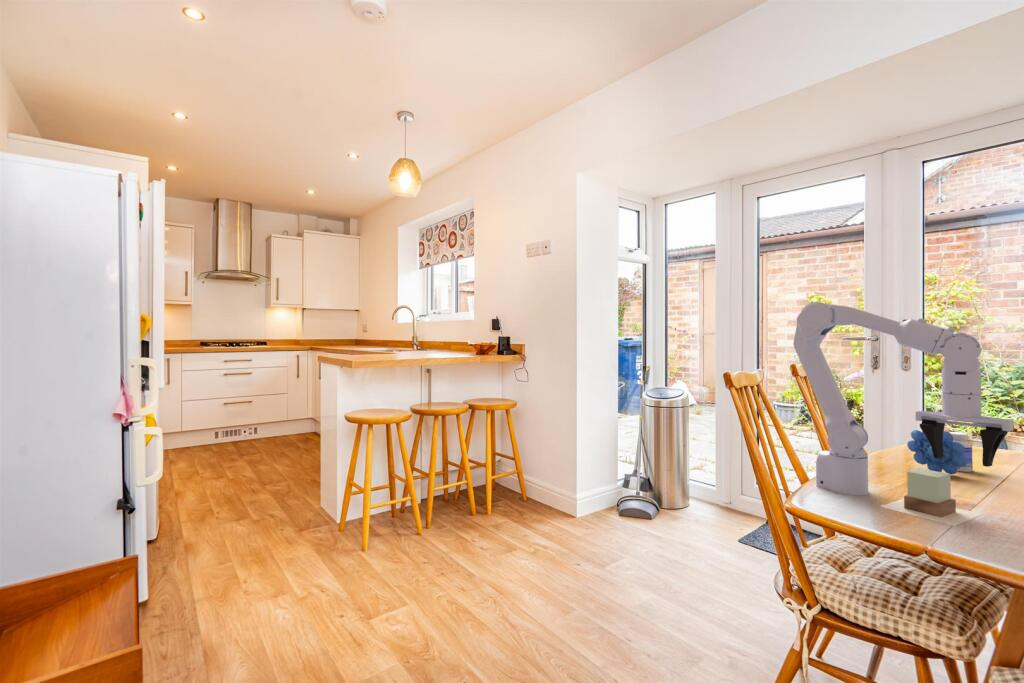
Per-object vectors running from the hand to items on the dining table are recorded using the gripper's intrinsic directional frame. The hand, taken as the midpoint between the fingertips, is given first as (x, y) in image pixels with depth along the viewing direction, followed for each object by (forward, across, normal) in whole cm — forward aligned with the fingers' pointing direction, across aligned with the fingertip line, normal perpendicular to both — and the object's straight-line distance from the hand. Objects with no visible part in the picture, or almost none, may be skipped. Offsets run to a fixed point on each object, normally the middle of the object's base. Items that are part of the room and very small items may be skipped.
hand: (962, 461), depth 97 cm
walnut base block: (+10, -3, -6) cm, 12 cm away
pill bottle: (+11, -15, +40) cm, 44 cm away
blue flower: (+11, -16, +30) cm, 36 cm away
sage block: (+7, -3, -6) cm, 10 cm away
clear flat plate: (+10, -3, -6) cm, 12 cm away
